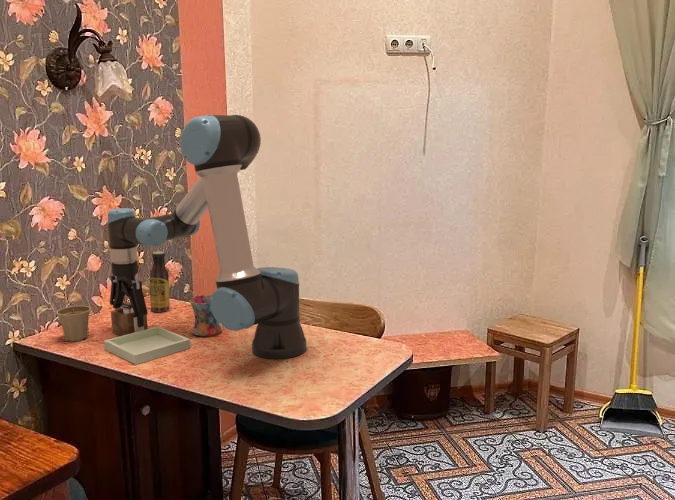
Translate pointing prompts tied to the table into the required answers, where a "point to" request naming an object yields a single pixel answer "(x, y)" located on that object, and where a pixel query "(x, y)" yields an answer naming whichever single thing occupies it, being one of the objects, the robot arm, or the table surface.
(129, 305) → the grey salt shaker
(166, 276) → the sauce bottle
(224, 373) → the table surface
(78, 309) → the flower pot
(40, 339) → the table surface
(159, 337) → the tray
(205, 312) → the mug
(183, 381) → the table surface
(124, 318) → the collar
